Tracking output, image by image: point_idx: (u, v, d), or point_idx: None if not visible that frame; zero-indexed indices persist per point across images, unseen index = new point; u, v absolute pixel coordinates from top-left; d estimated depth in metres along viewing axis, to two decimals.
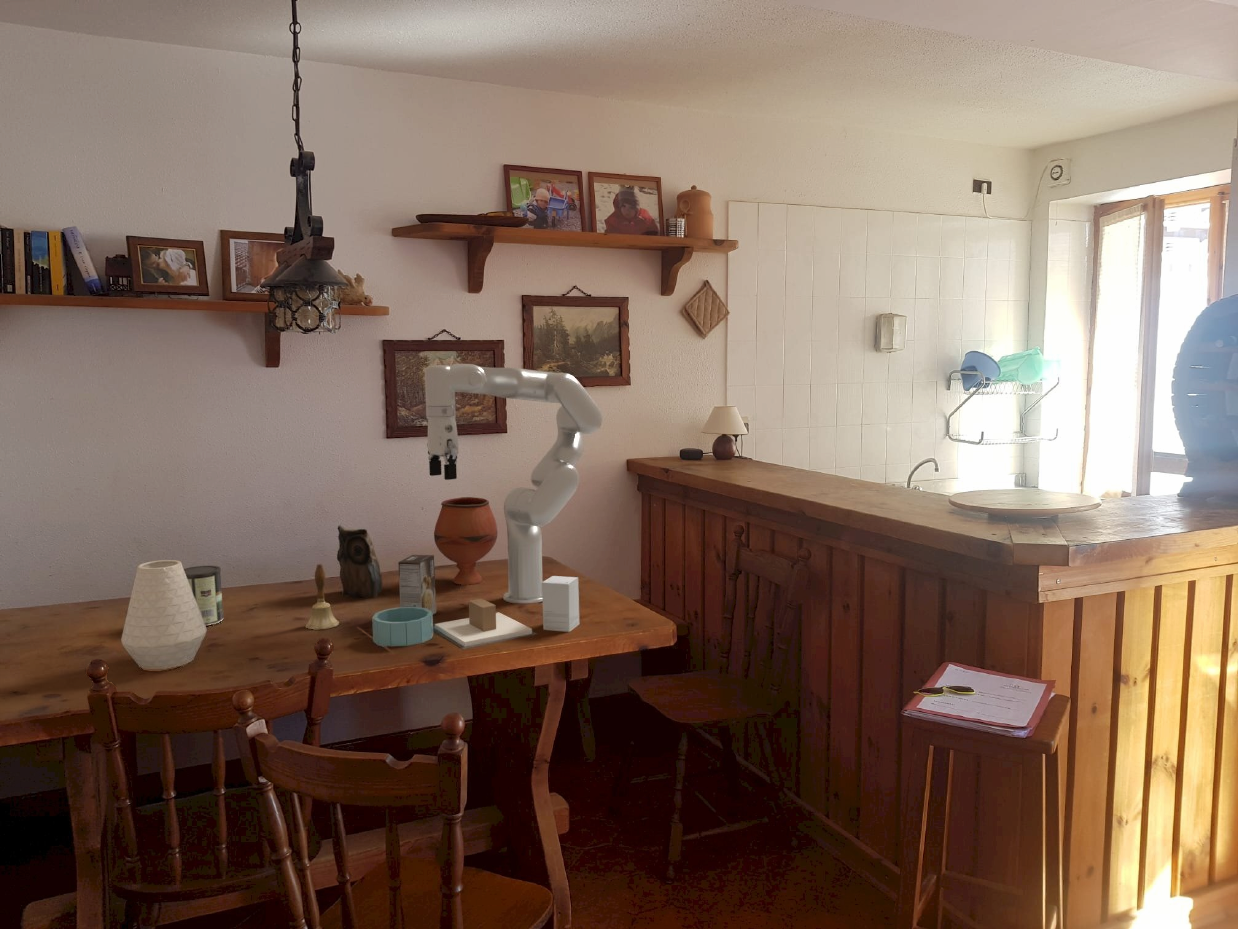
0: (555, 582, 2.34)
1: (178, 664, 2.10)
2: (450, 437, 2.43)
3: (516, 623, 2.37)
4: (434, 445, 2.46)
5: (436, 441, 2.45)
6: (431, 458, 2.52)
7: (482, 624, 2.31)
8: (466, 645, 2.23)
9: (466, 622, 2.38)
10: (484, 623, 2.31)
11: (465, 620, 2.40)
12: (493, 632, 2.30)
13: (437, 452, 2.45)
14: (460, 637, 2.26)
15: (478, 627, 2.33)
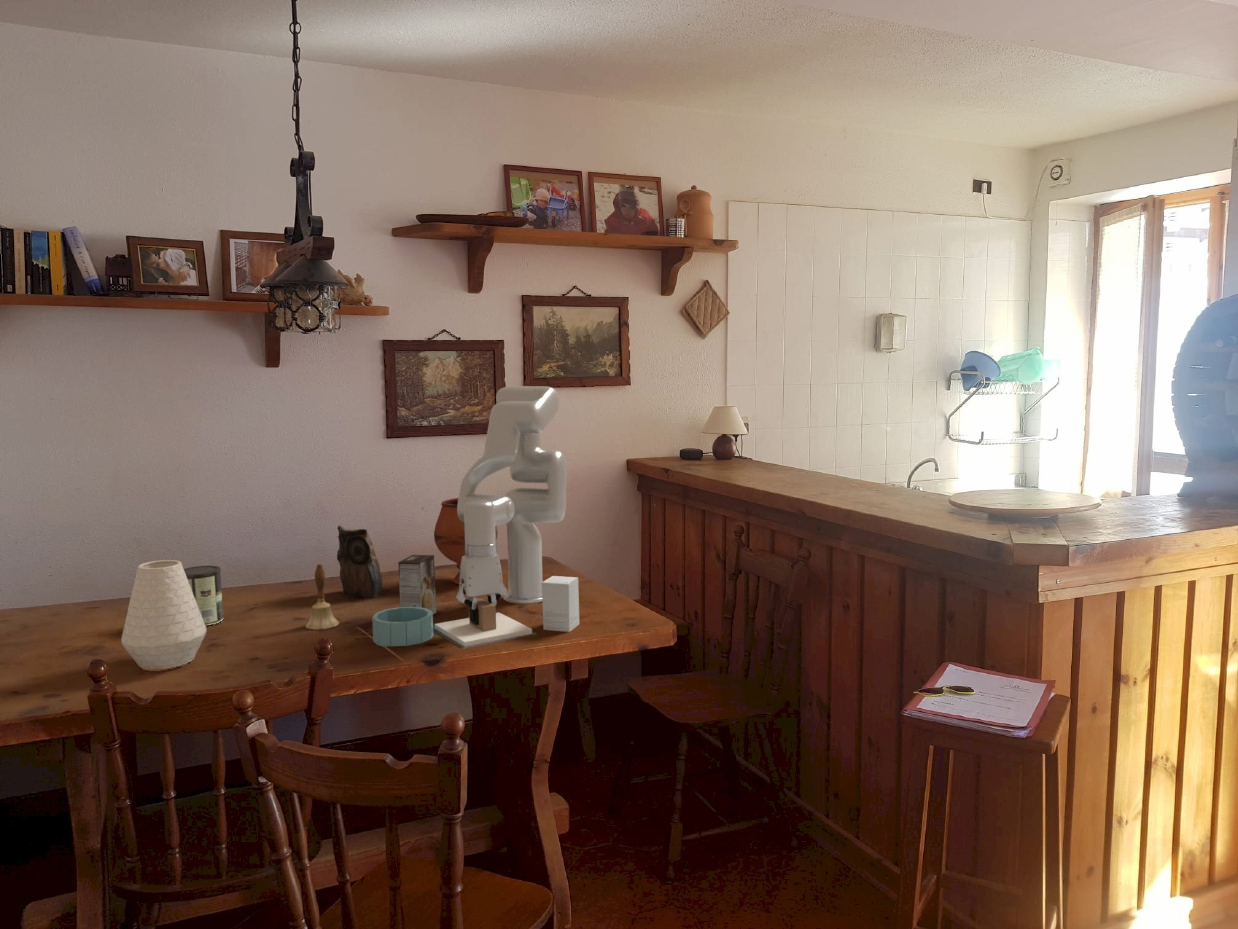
0: (554, 582, 2.34)
1: (178, 664, 2.10)
2: None
3: (516, 623, 2.37)
4: (488, 584, 2.32)
5: (492, 580, 2.33)
6: None
7: (482, 624, 2.31)
8: (466, 645, 2.23)
9: (466, 622, 2.38)
10: (484, 623, 2.31)
11: (465, 620, 2.40)
12: (493, 632, 2.30)
13: (492, 591, 2.33)
14: (460, 637, 2.26)
15: (478, 627, 2.33)
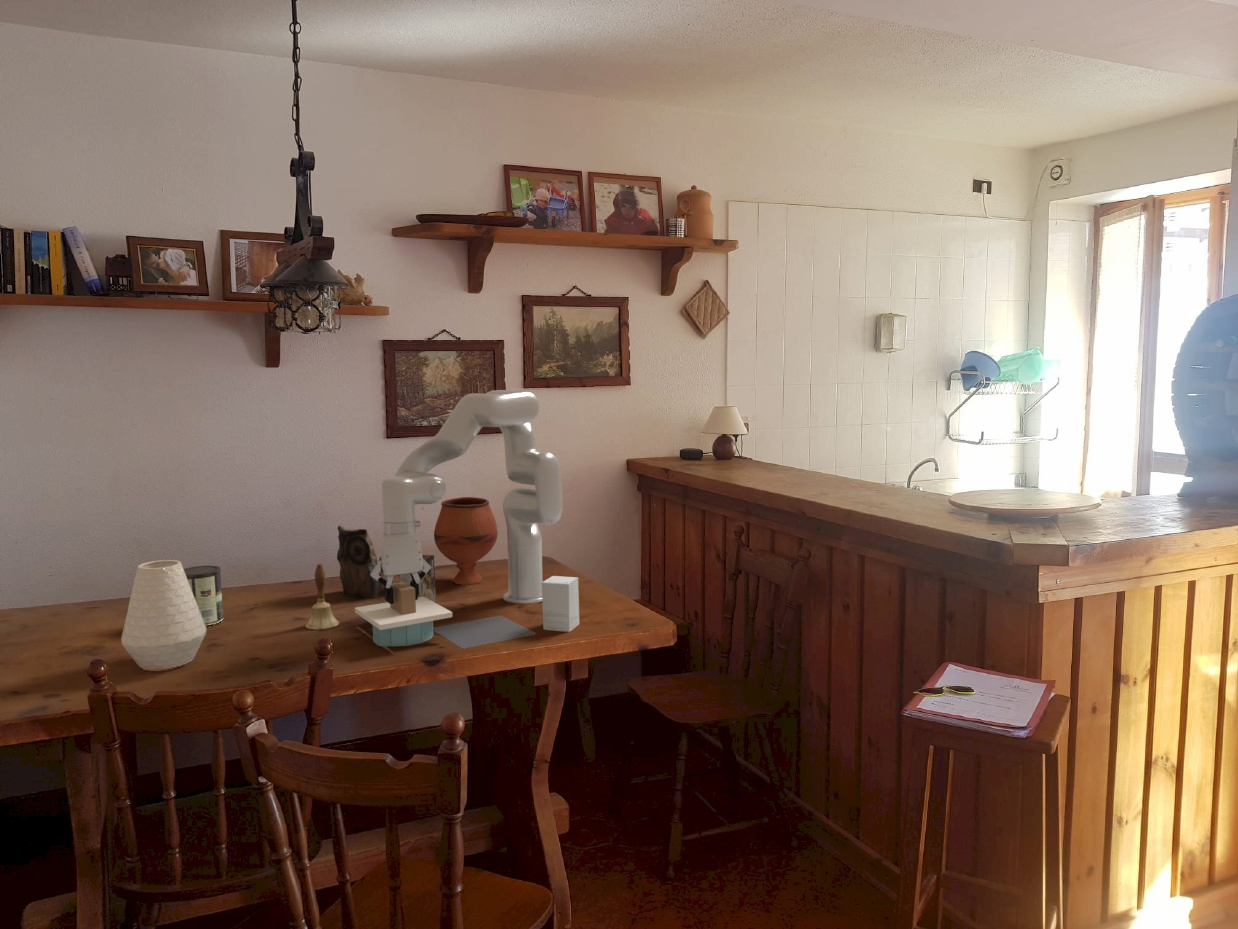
0: (554, 582, 2.34)
1: (178, 664, 2.10)
2: None
3: (438, 607, 2.32)
4: (406, 563, 2.27)
5: (411, 558, 2.27)
6: (390, 583, 2.27)
7: (401, 607, 2.26)
8: (382, 628, 2.18)
9: (387, 606, 2.34)
10: (403, 607, 2.26)
11: (387, 604, 2.35)
12: (412, 615, 2.25)
13: (411, 569, 2.28)
14: (376, 621, 2.21)
15: (397, 610, 2.28)
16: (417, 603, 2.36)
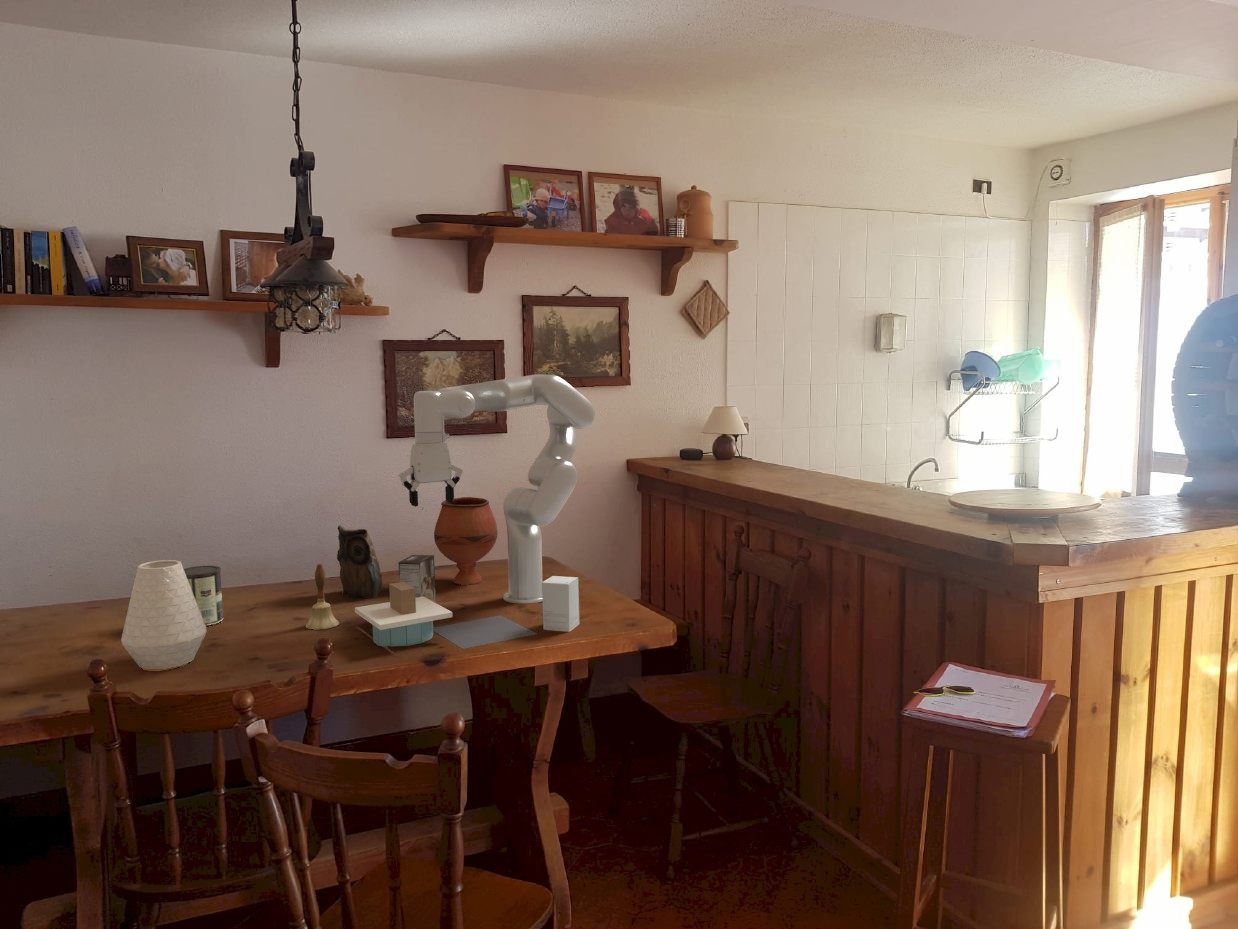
0: (554, 582, 2.34)
1: (178, 664, 2.10)
2: None
3: (438, 607, 2.32)
4: (437, 471, 2.43)
5: (441, 467, 2.43)
6: (415, 488, 2.42)
7: (401, 607, 2.26)
8: (382, 628, 2.18)
9: (387, 606, 2.34)
10: (403, 607, 2.26)
11: (387, 604, 2.35)
12: (412, 615, 2.25)
13: (441, 478, 2.44)
14: (376, 621, 2.21)
15: (397, 610, 2.28)
16: (417, 603, 2.36)
